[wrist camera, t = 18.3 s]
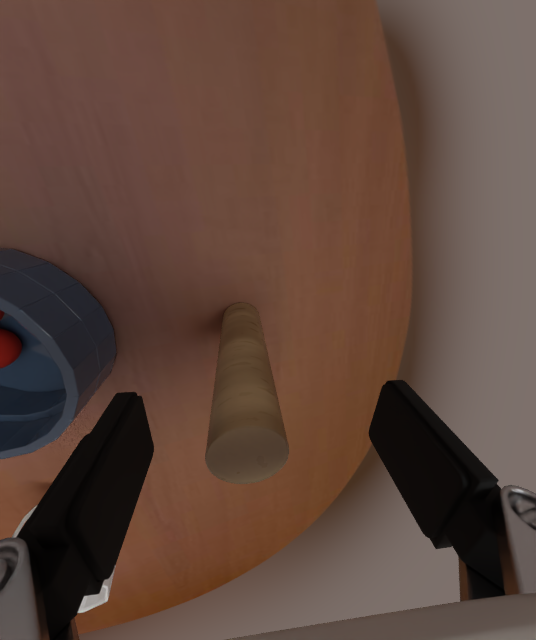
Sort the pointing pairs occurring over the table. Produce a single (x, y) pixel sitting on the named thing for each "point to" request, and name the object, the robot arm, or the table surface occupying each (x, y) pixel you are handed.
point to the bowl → (48, 351)
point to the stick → (244, 404)
